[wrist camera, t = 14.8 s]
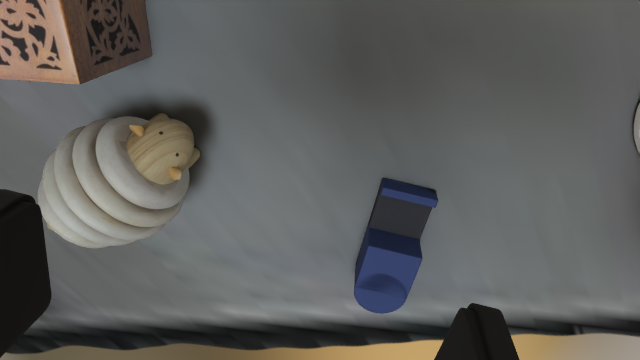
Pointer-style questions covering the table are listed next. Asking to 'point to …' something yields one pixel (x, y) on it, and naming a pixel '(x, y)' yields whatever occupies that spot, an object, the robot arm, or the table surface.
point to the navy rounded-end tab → (392, 246)
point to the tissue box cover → (70, 38)
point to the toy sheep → (117, 180)
